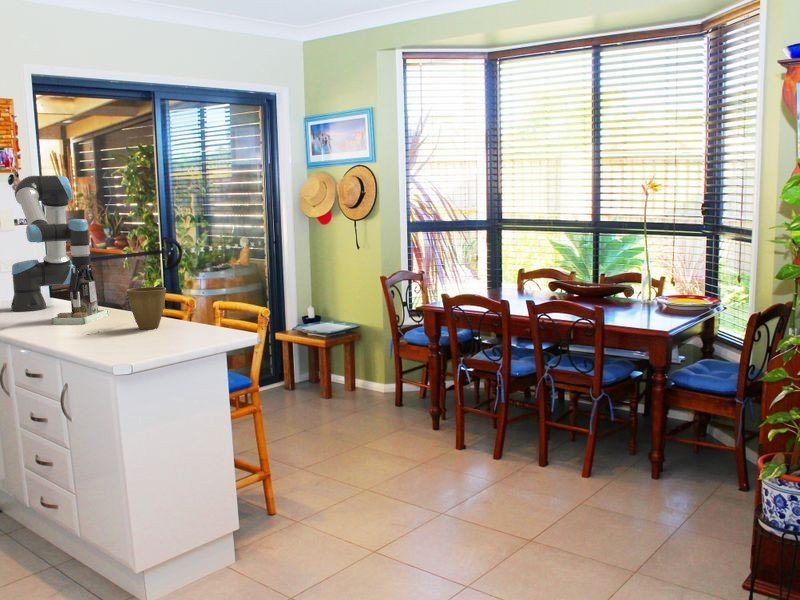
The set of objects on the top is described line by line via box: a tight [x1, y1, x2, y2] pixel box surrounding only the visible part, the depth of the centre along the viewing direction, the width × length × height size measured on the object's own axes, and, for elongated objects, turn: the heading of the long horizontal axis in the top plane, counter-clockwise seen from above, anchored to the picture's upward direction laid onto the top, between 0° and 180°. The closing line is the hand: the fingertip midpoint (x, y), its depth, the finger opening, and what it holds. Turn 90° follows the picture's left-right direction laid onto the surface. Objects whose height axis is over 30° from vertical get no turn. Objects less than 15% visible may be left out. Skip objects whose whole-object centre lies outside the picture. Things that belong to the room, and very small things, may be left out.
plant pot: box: [126, 286, 167, 330], centre depth 305 cm, size 15×15×16 cm
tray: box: [51, 309, 109, 326], centre depth 323 cm, size 22×14×4 cm, turn 177°
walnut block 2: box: [73, 312, 88, 318], centre depth 316 cm, size 4×4×4 cm
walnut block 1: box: [56, 312, 71, 318], centre depth 316 cm, size 4×4×4 cm
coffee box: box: [68, 280, 99, 318], centre depth 326 cm, size 9×6×16 cm
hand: (84, 304), depth 327 cm, fingers open, 13 cm apart
